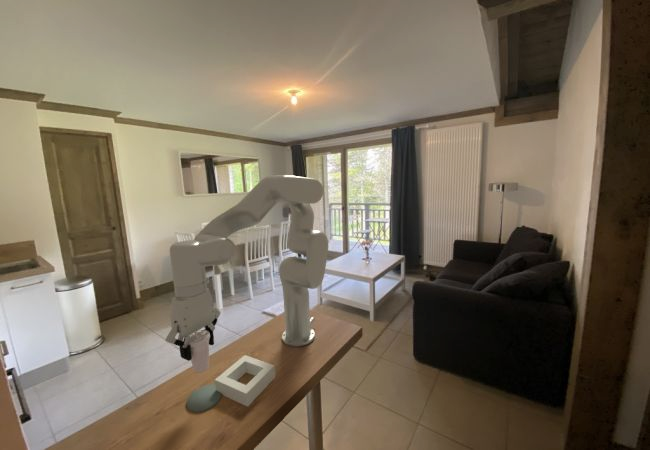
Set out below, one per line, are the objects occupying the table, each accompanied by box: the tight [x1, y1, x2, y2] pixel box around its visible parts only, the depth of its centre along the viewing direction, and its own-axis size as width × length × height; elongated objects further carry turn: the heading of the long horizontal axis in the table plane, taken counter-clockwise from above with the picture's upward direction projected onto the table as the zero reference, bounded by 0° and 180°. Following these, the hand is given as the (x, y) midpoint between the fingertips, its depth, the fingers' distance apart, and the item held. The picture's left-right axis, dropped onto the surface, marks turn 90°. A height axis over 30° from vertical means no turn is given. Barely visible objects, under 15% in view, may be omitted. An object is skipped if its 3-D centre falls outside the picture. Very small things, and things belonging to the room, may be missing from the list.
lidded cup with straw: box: [188, 329, 210, 374], centre depth 72 cm, size 6×6×14 cm
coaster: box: [186, 383, 223, 413], centre depth 75 cm, size 9×9×1 cm
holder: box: [214, 354, 276, 408], centre depth 79 cm, size 12×12×4 cm
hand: (198, 350), depth 72 cm, fingers closed on lidded cup with straw, 6 cm apart
